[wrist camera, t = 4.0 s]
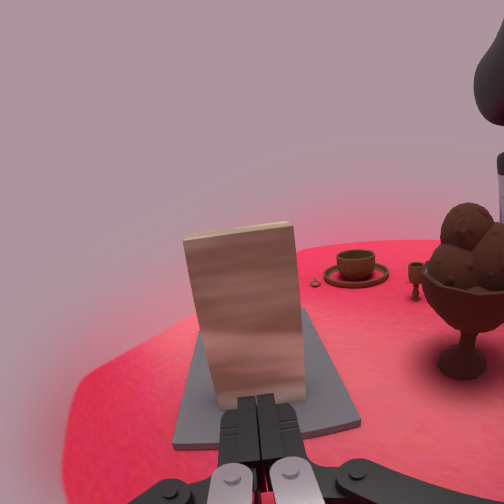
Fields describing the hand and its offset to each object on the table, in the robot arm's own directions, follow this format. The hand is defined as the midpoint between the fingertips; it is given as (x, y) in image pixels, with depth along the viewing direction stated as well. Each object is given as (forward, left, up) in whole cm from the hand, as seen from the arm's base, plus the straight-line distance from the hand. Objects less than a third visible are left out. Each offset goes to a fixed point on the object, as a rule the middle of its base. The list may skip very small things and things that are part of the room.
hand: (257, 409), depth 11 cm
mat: (-12, -10, -9) cm, 18 cm away
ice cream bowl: (-19, +9, -9) cm, 23 cm away
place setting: (-38, -8, -10) cm, 40 cm away
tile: (-8, -7, -8) cm, 13 cm away
